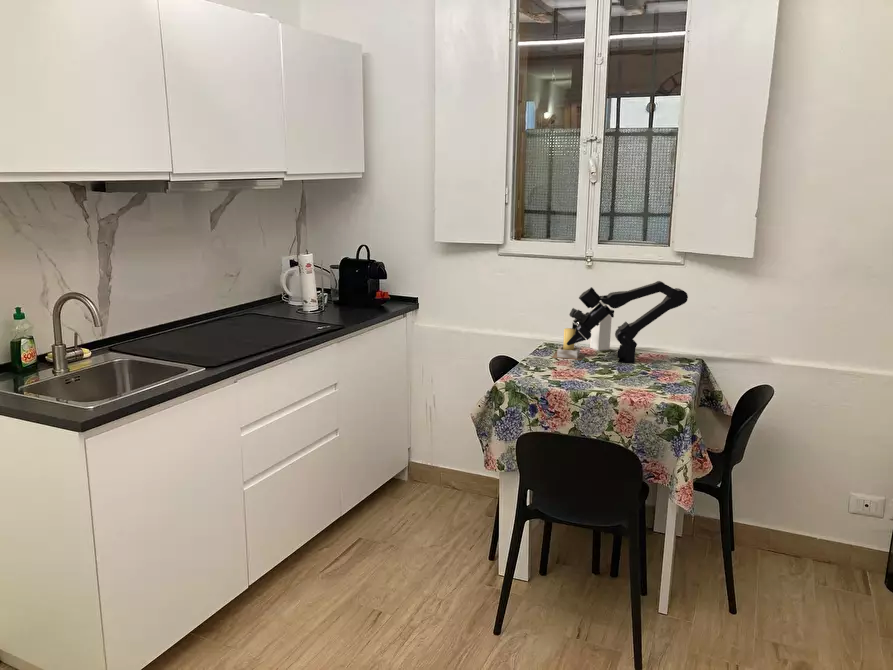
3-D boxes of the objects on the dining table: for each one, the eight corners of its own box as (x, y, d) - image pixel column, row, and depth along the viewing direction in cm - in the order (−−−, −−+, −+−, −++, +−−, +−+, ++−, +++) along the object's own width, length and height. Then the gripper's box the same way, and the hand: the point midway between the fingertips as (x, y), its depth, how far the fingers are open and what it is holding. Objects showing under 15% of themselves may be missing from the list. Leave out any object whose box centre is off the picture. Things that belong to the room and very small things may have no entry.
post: (574, 355, 292) (575, 328, 289) (573, 357, 287) (574, 330, 285) (563, 354, 293) (564, 327, 291) (562, 356, 289) (563, 329, 286)
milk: (609, 352, 304) (613, 301, 299) (597, 353, 301) (601, 302, 297) (600, 349, 309) (604, 299, 305) (589, 350, 307) (592, 300, 302)
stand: (584, 357, 294) (585, 346, 293) (581, 363, 283) (581, 352, 282) (555, 354, 298) (556, 344, 297) (551, 361, 286) (551, 350, 286)
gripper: (579, 298, 294) (551, 323, 298) (584, 305, 276) (554, 332, 279) (597, 318, 295) (569, 342, 298) (603, 326, 277) (573, 352, 280)
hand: (566, 342), depth 289 cm, fingers open, 9 cm apart
